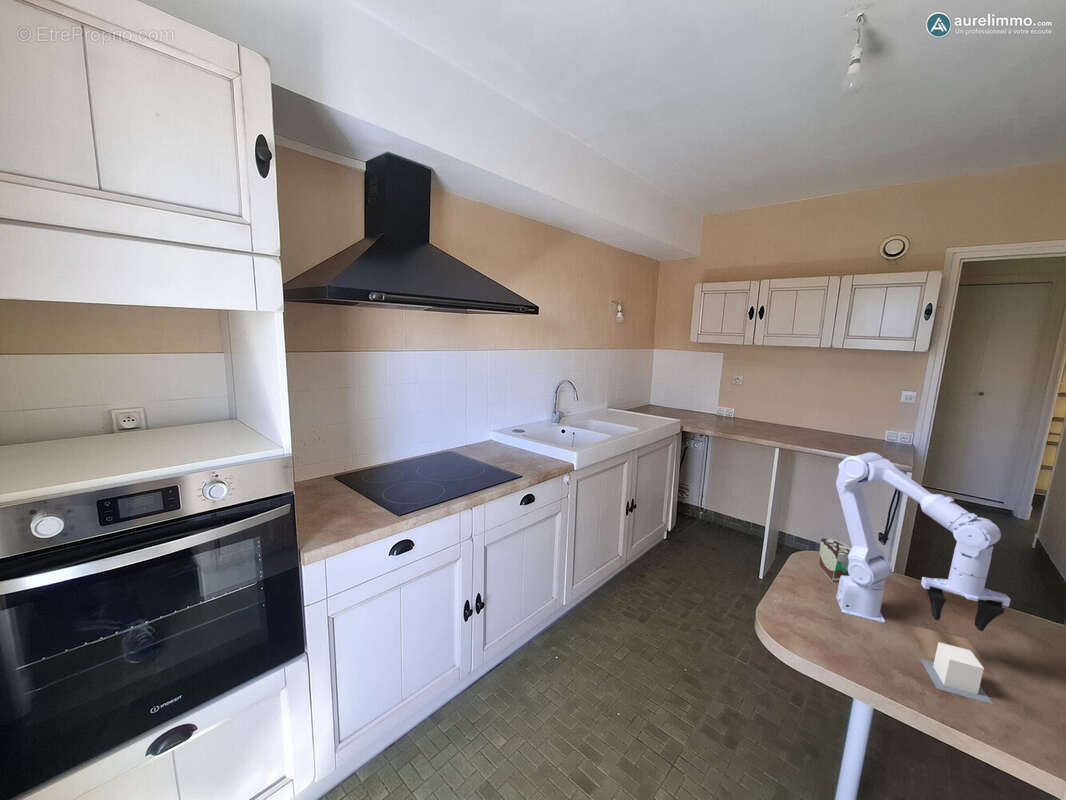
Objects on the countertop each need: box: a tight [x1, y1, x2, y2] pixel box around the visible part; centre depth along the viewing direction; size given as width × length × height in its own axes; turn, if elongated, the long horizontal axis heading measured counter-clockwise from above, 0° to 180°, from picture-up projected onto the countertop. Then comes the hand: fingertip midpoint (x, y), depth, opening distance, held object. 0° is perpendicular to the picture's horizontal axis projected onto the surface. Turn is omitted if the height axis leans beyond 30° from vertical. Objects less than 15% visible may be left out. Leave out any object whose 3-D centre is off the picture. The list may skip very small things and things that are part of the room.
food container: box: [817, 535, 852, 584], centre depth 131 cm, size 12×6×10 cm, turn 168°
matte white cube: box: [933, 642, 984, 694], centre depth 92 cm, size 6×6×6 cm
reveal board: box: [906, 624, 995, 676], centre depth 102 cm, size 12×12×1 cm
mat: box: [919, 658, 994, 705], centre depth 93 cm, size 9×9×1 cm
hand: (956, 622), depth 98 cm, fingers open, 7 cm apart
